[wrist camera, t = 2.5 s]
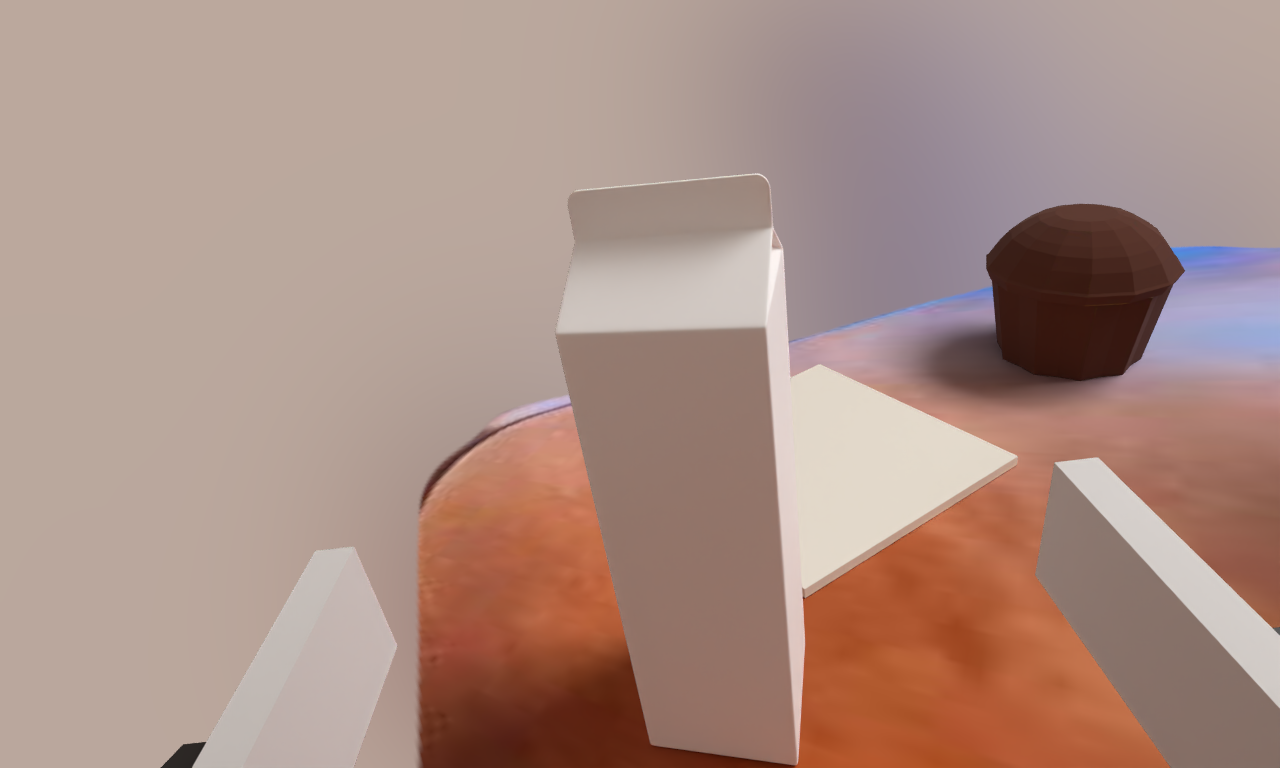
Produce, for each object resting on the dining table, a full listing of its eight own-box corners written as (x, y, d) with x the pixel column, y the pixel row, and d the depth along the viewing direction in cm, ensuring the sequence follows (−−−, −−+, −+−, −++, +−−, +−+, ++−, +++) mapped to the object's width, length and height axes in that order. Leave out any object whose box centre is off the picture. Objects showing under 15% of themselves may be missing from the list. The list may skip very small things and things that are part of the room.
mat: (1016, 464, 41) (1018, 456, 40) (805, 598, 34) (804, 589, 34) (819, 371, 53) (819, 364, 53) (639, 456, 47) (637, 449, 47)
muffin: (1204, 376, 45) (1245, 224, 40) (1029, 402, 46) (1049, 254, 41) (1093, 305, 56) (1115, 178, 51) (952, 327, 56) (960, 202, 51)
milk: (798, 768, 27) (762, 207, 16) (647, 747, 29) (524, 225, 18) (805, 640, 32) (781, 146, 22) (676, 628, 34) (593, 164, 23)
